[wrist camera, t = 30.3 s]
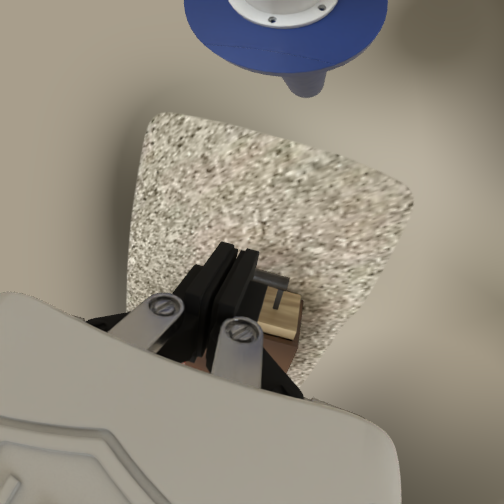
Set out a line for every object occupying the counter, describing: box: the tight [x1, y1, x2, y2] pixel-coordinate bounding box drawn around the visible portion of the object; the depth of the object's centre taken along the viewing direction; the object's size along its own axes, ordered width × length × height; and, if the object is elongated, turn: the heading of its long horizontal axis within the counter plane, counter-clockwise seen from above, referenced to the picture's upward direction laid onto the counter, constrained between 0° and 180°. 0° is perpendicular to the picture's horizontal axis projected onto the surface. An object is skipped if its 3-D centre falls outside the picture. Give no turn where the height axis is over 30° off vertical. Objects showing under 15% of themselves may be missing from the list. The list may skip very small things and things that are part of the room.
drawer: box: [253, 269, 301, 340], centre depth 33 cm, size 16×10×7 cm, turn 168°
